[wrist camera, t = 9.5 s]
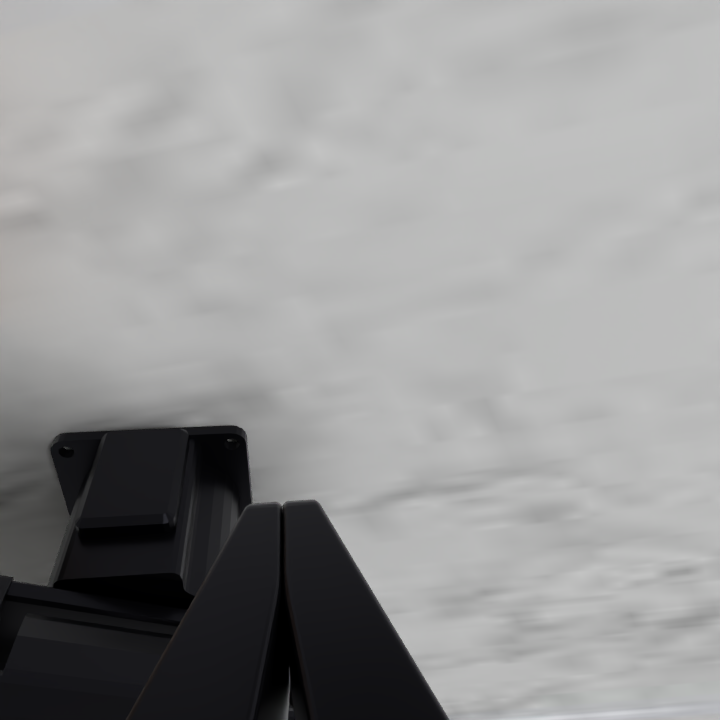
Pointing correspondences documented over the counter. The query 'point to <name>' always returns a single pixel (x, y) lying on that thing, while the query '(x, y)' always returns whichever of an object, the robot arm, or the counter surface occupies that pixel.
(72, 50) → the counter surface
